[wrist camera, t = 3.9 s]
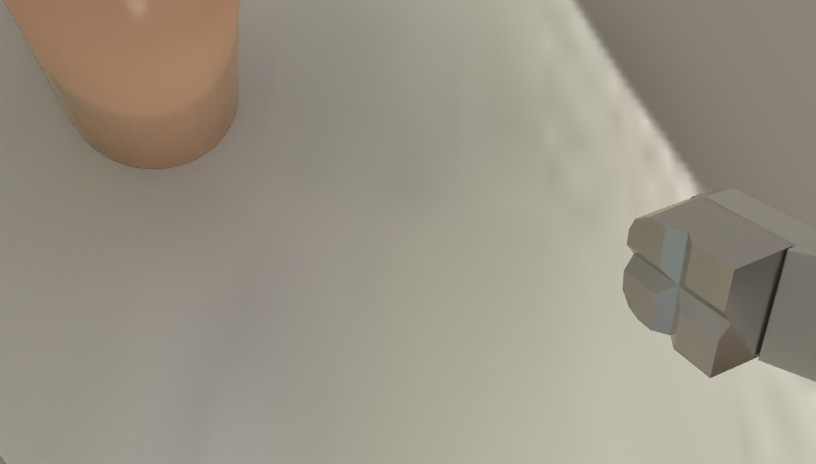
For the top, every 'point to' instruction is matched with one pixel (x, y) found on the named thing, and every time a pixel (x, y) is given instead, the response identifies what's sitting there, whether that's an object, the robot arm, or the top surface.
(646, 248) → the robot arm
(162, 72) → the tan round cylinder
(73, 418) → the top surface
